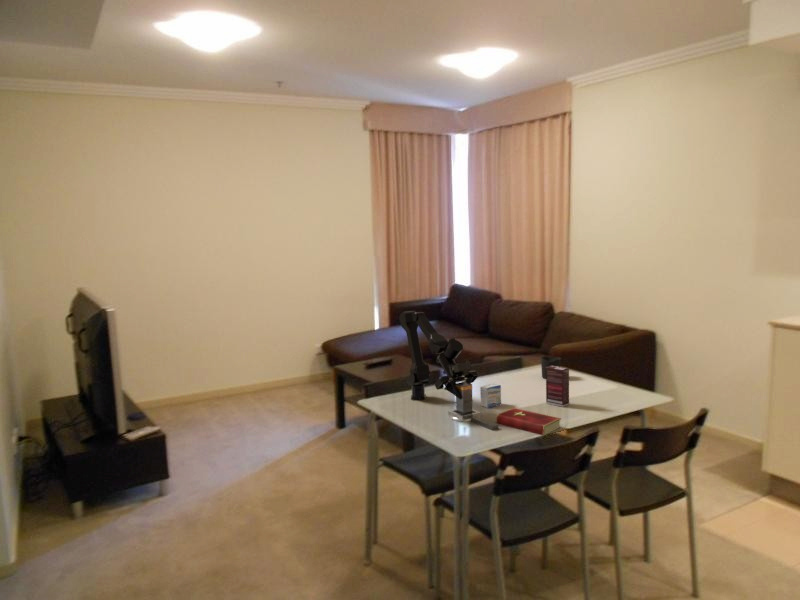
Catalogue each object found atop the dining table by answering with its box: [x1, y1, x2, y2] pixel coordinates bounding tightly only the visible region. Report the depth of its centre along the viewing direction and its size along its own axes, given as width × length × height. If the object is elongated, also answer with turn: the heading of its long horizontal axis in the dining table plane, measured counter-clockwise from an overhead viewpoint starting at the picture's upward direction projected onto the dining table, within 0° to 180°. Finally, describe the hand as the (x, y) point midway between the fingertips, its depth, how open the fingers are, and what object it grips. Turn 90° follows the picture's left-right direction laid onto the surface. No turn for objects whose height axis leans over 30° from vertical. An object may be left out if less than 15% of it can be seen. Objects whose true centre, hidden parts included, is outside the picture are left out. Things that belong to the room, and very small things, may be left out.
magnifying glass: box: [447, 408, 500, 431], centre depth 237 cm, size 25×12×2 cm, turn 31°
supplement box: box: [545, 366, 570, 408], centre depth 255 cm, size 9×5×16 cm, turn 44°
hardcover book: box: [495, 407, 562, 436], centre depth 230 cm, size 12×21×4 cm, turn 45°
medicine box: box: [479, 383, 502, 409], centre depth 257 cm, size 8×4×9 cm, turn 123°
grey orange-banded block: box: [455, 381, 473, 415], centre depth 242 cm, size 5×5×12 cm
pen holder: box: [540, 355, 562, 380], centre depth 299 cm, size 9×9×10 cm
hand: (466, 397), depth 241 cm, fingers closed on grey orange-banded block, 5 cm apart
